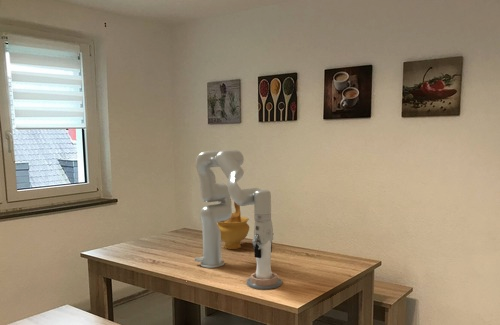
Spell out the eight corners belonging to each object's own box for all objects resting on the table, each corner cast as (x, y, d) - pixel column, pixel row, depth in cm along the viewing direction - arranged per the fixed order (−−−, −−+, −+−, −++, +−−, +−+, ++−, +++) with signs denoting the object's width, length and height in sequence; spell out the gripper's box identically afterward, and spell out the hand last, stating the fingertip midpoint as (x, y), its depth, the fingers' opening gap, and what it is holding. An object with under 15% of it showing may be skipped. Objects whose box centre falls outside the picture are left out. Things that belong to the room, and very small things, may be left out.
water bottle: (255, 278, 184) (254, 225, 183) (270, 277, 185) (269, 224, 184) (256, 284, 177) (255, 228, 176) (272, 283, 178) (271, 227, 177)
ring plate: (249, 290, 172) (249, 282, 172) (244, 278, 188) (244, 271, 188) (285, 288, 174) (285, 280, 174) (277, 276, 190) (277, 269, 190)
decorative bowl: (211, 250, 238) (209, 200, 237) (221, 241, 259) (220, 196, 257) (245, 252, 234) (244, 201, 232) (253, 243, 254) (252, 196, 253)
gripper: (260, 221, 170) (260, 261, 171) (279, 215, 185) (279, 251, 186) (245, 220, 174) (246, 258, 175) (265, 213, 189) (265, 249, 190)
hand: (263, 254), depth 181 cm, fingers open, 9 cm apart
